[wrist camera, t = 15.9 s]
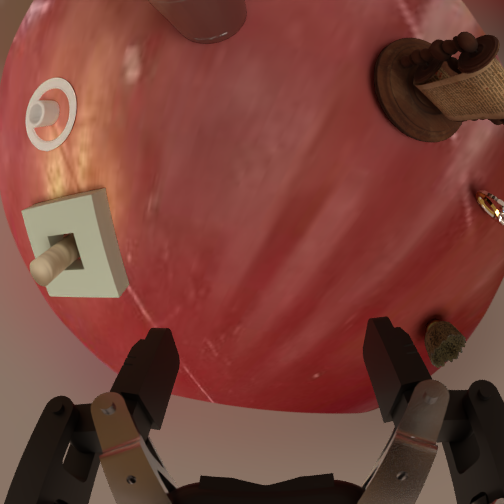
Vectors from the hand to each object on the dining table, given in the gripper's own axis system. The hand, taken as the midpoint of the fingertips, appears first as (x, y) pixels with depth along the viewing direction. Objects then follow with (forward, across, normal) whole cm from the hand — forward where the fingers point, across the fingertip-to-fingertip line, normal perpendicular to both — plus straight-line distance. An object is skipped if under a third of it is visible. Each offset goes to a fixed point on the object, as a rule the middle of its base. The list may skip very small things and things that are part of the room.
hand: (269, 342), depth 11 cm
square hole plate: (+28, +31, +5) cm, 42 cm away
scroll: (+28, -22, -14) cm, 39 cm away
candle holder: (+29, +32, -17) cm, 46 cm away
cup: (+28, -30, +26) cm, 49 cm away
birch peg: (+28, +31, +5) cm, 42 cm away
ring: (+28, -35, +2) cm, 45 cm away
